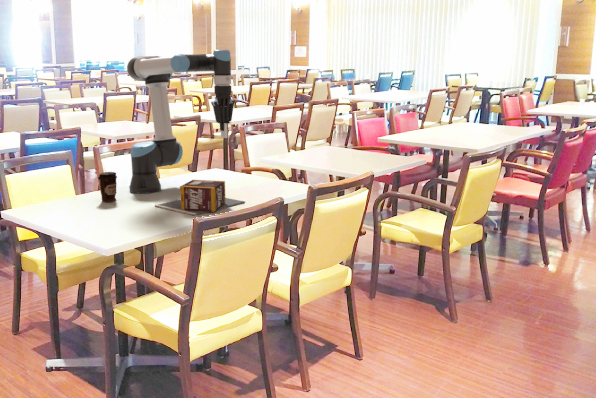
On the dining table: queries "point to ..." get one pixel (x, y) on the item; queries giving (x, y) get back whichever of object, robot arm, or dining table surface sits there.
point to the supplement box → (202, 195)
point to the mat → (177, 207)
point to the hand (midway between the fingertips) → (224, 137)
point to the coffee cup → (108, 186)
